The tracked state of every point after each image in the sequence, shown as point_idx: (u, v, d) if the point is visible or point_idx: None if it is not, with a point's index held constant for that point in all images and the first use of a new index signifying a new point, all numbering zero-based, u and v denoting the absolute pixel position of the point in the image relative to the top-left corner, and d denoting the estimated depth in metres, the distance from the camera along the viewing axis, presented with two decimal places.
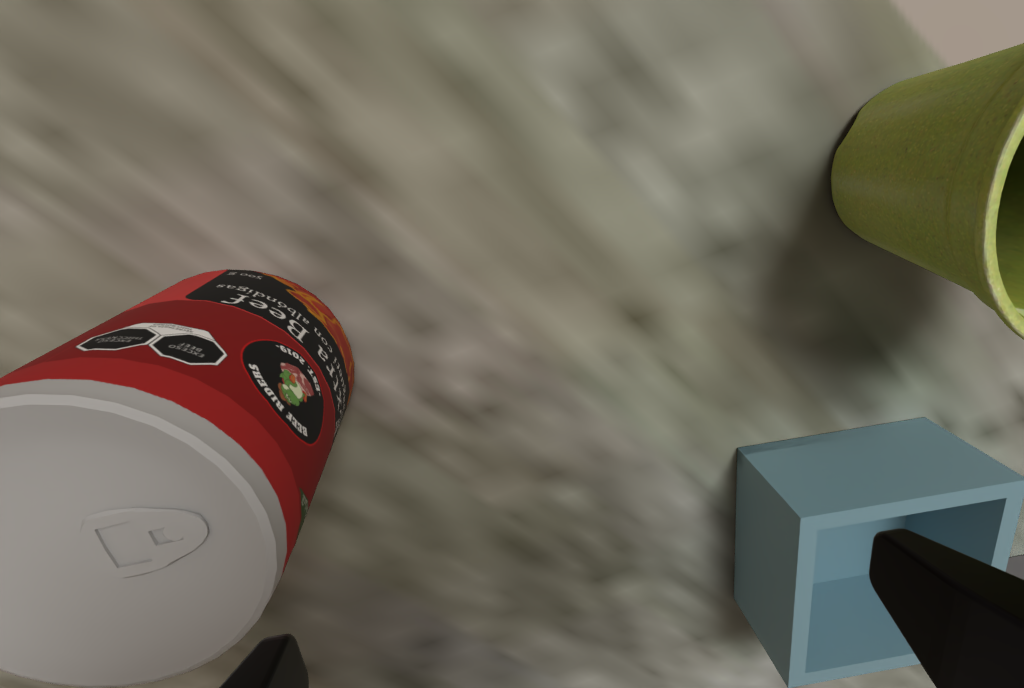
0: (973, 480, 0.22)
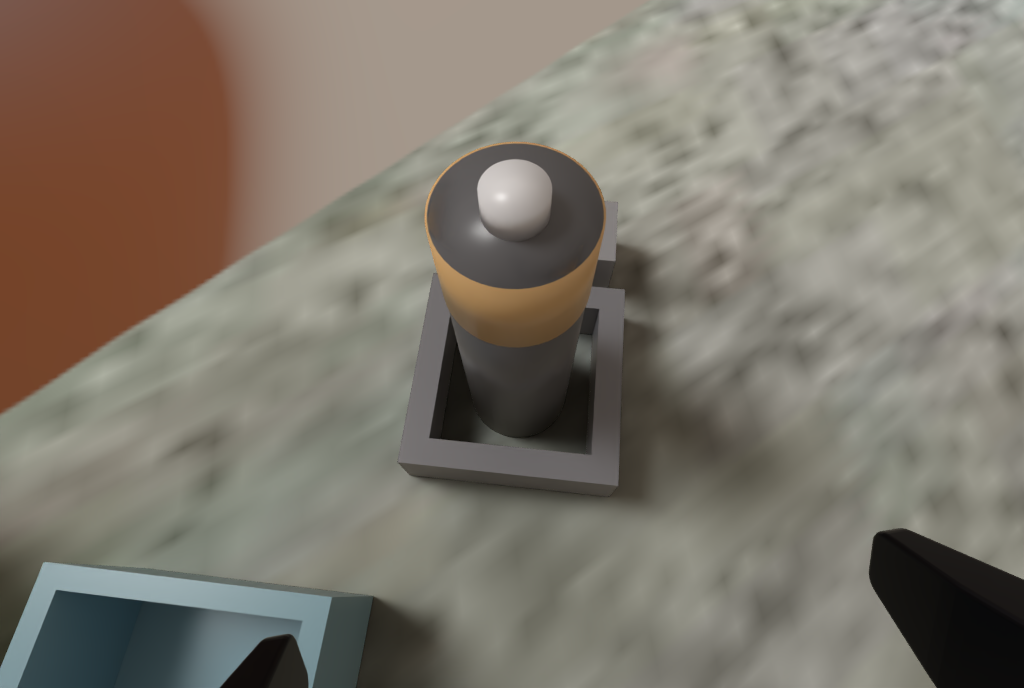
0: None
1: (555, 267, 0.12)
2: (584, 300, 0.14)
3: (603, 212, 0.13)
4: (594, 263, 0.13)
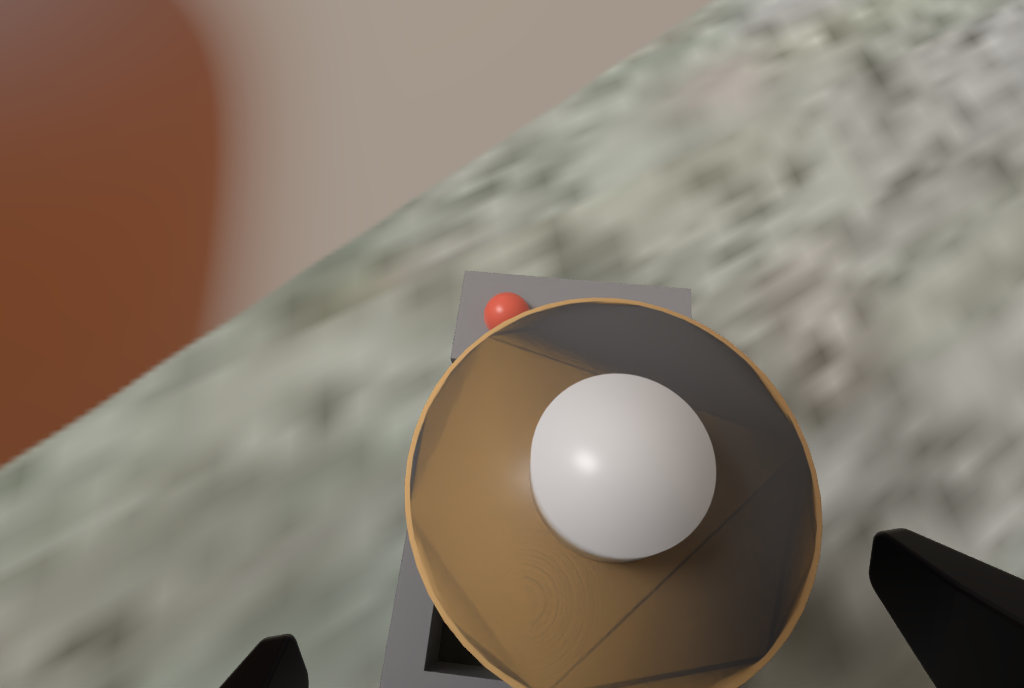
0: None
1: (719, 643, 0.05)
2: None
3: (806, 474, 0.06)
4: None
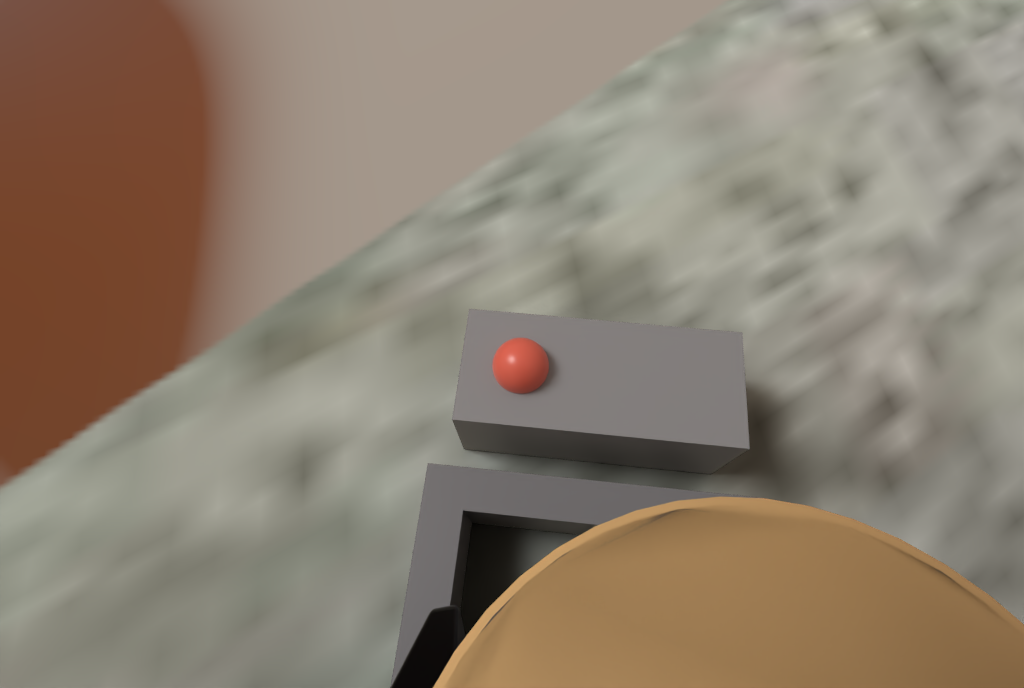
0: None
1: None
2: None
3: None
4: None
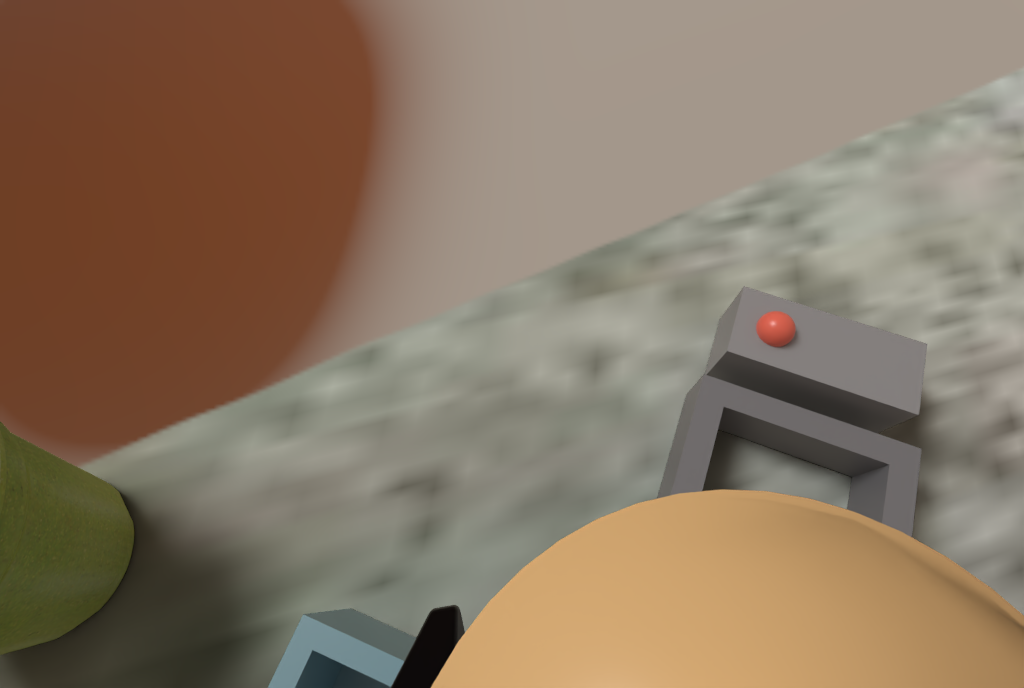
0: None
1: None
2: None
3: None
4: None
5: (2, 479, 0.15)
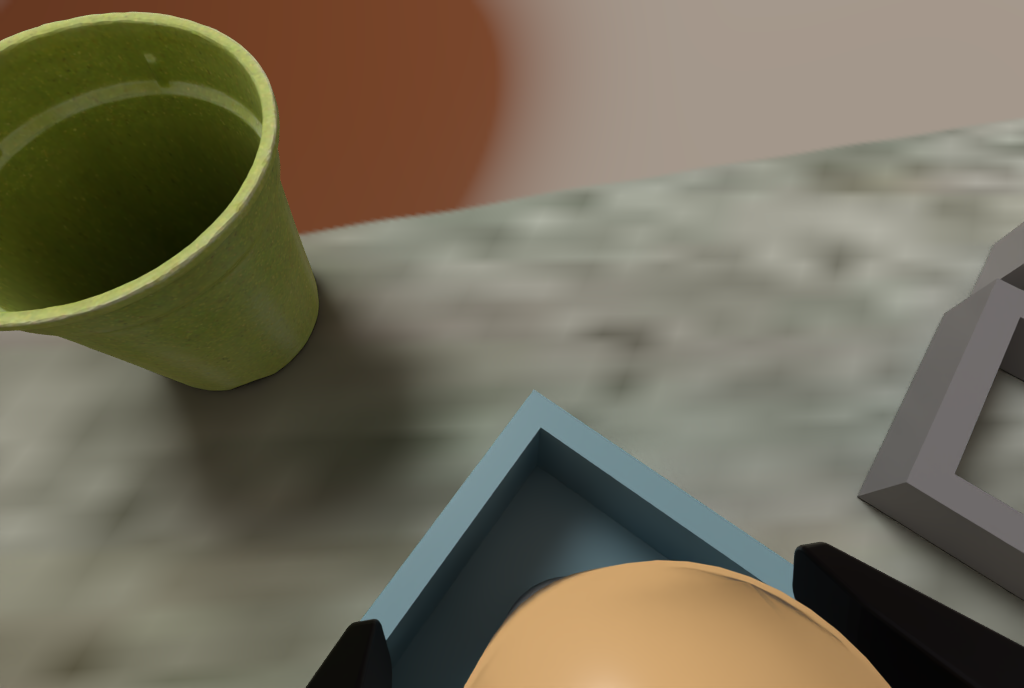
0: None
1: None
2: None
3: None
4: None
5: (276, 143, 0.13)
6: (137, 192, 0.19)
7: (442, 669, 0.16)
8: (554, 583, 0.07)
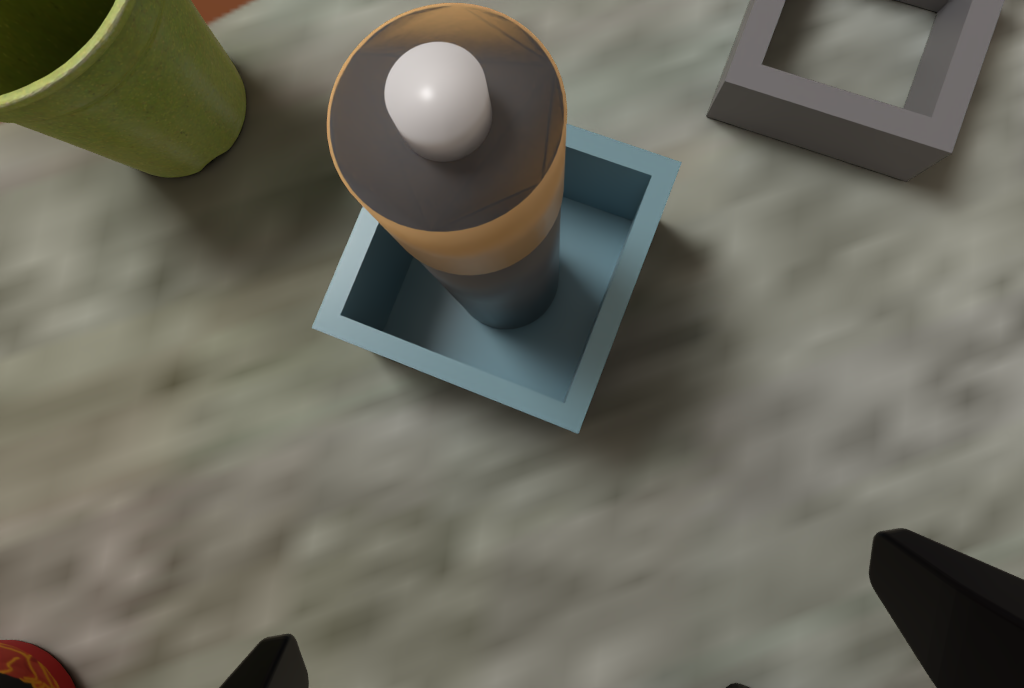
0: None
1: (517, 183, 0.09)
2: (560, 196, 0.12)
3: (559, 84, 0.10)
4: (563, 156, 0.10)
5: None
6: (47, 11, 0.21)
7: (422, 311, 0.22)
8: None
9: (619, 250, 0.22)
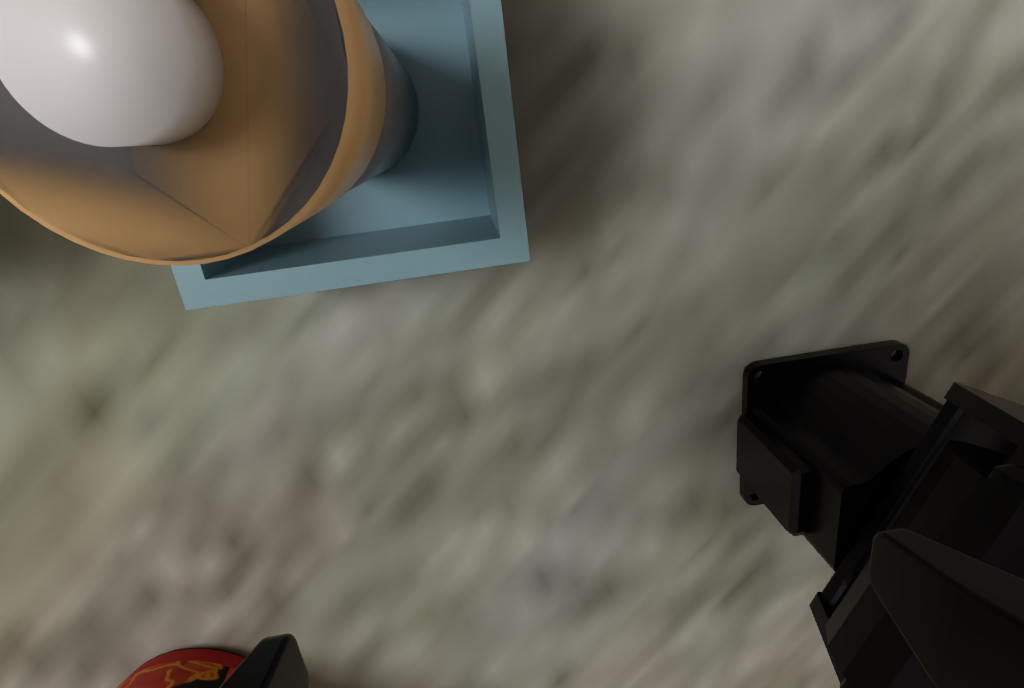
0: None
1: (315, 110, 0.06)
2: (373, 46, 0.08)
3: None
4: (351, 11, 0.06)
5: None
6: None
7: None
8: None
9: None
